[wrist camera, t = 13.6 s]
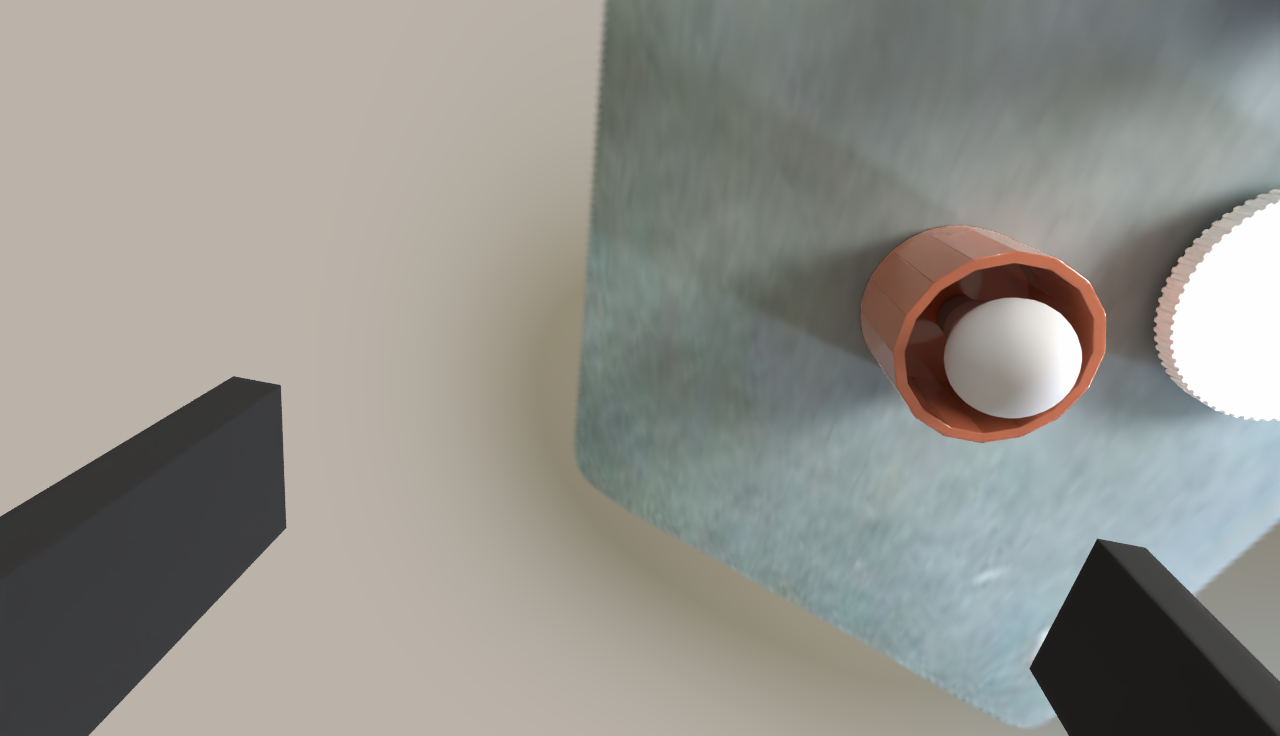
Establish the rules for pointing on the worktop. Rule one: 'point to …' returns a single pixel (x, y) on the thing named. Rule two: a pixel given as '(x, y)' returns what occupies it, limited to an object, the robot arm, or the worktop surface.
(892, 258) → the holder
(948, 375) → the lightbulb
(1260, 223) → the plastic lid
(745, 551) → the worktop surface
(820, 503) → the worktop surface
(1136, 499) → the worktop surface
